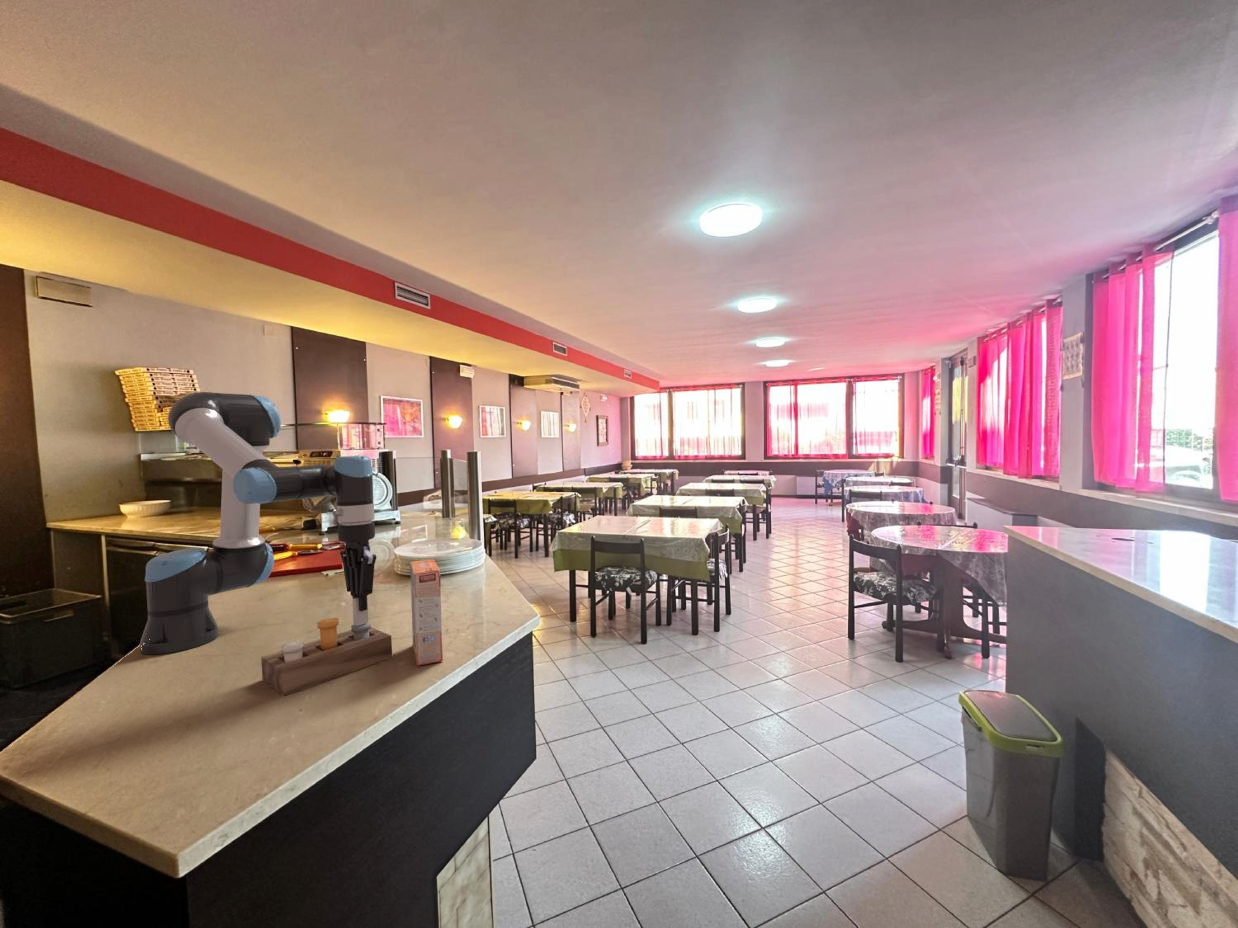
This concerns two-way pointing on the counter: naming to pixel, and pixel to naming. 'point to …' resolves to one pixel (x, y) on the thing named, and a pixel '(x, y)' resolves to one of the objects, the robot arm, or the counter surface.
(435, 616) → the cracker box
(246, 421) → the robot arm
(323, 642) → the orange plug
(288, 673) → the socket board
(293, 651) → the ivory plug
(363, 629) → the slate plug
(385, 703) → the counter surface
